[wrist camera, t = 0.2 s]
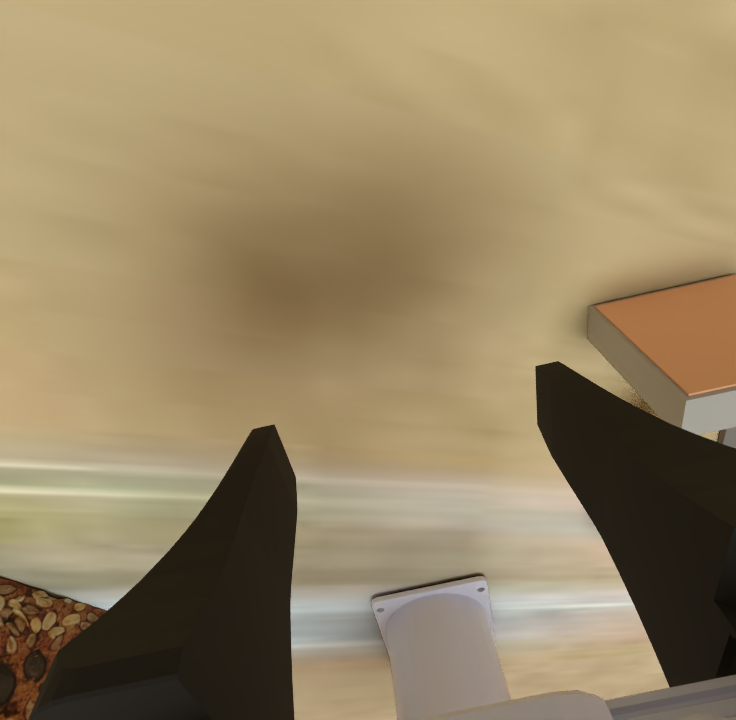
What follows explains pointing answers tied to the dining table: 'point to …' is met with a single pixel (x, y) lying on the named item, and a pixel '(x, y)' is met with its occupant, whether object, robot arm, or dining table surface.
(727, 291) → the tile
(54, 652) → the bread
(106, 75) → the dining table surface
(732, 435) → the mat
